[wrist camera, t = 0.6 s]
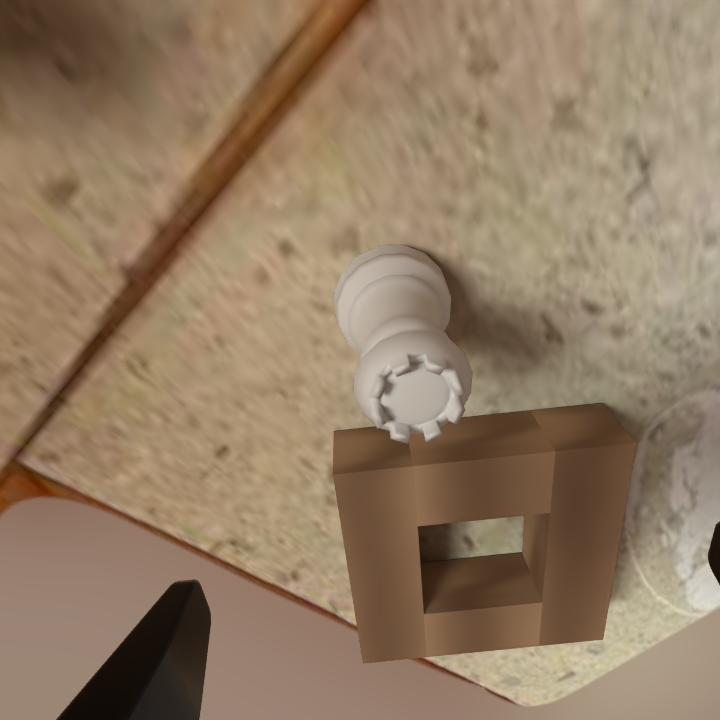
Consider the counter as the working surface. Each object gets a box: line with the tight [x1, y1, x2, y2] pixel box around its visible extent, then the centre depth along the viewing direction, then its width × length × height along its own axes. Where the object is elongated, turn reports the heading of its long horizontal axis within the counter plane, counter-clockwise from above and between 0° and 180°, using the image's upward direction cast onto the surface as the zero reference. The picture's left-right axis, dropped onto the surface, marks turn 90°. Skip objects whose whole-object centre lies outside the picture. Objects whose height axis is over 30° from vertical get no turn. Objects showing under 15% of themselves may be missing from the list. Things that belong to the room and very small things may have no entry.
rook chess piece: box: [334, 245, 472, 444], centre depth 17 cm, size 4×4×8 cm
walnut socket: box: [333, 403, 637, 663], centre depth 24 cm, size 12×12×3 cm
